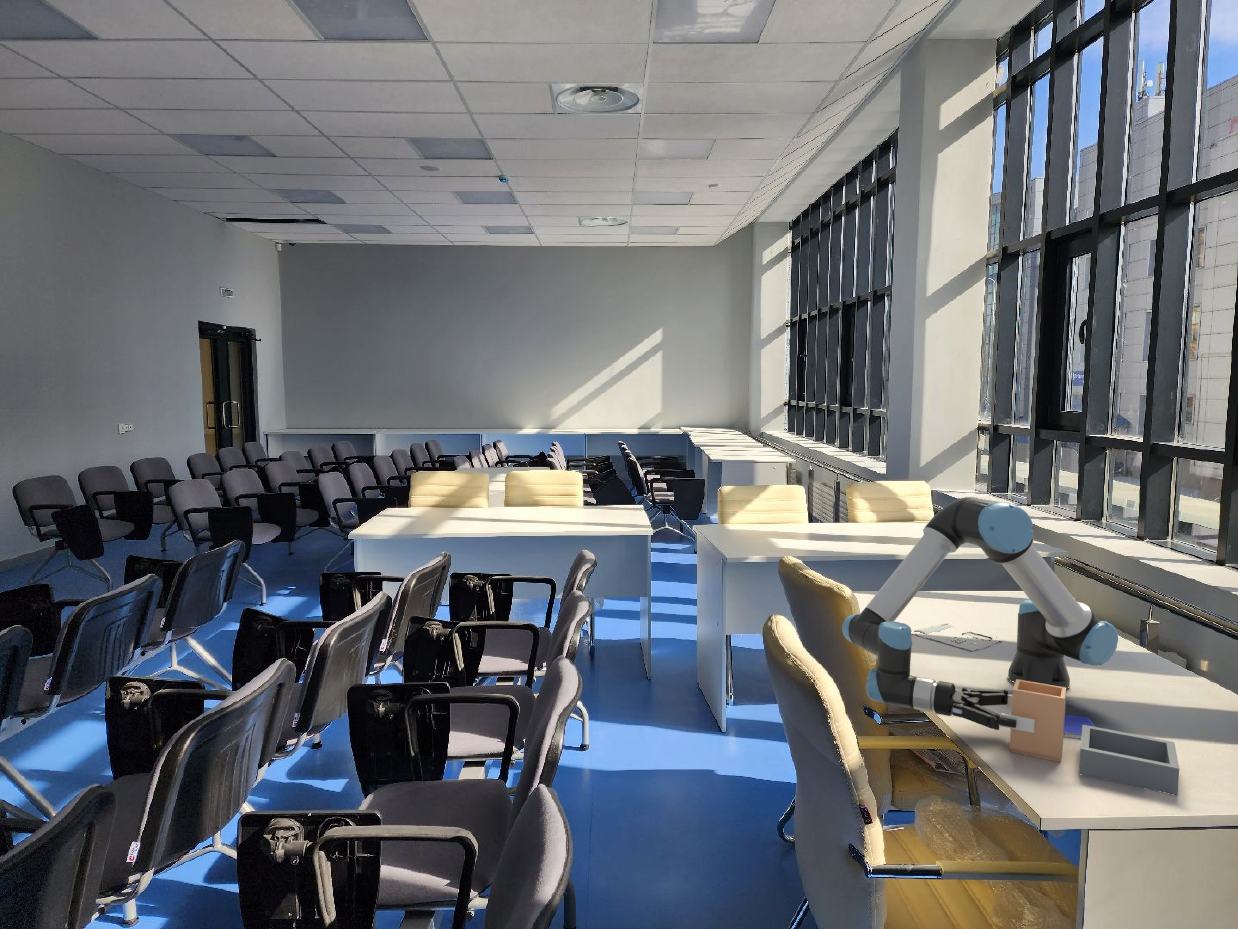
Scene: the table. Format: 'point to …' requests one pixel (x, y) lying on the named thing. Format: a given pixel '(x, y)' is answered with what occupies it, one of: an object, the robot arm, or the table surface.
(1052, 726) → the tall tapered brown container
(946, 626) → the office telephone
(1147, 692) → the table surface
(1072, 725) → the hard drive
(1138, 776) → the tray
